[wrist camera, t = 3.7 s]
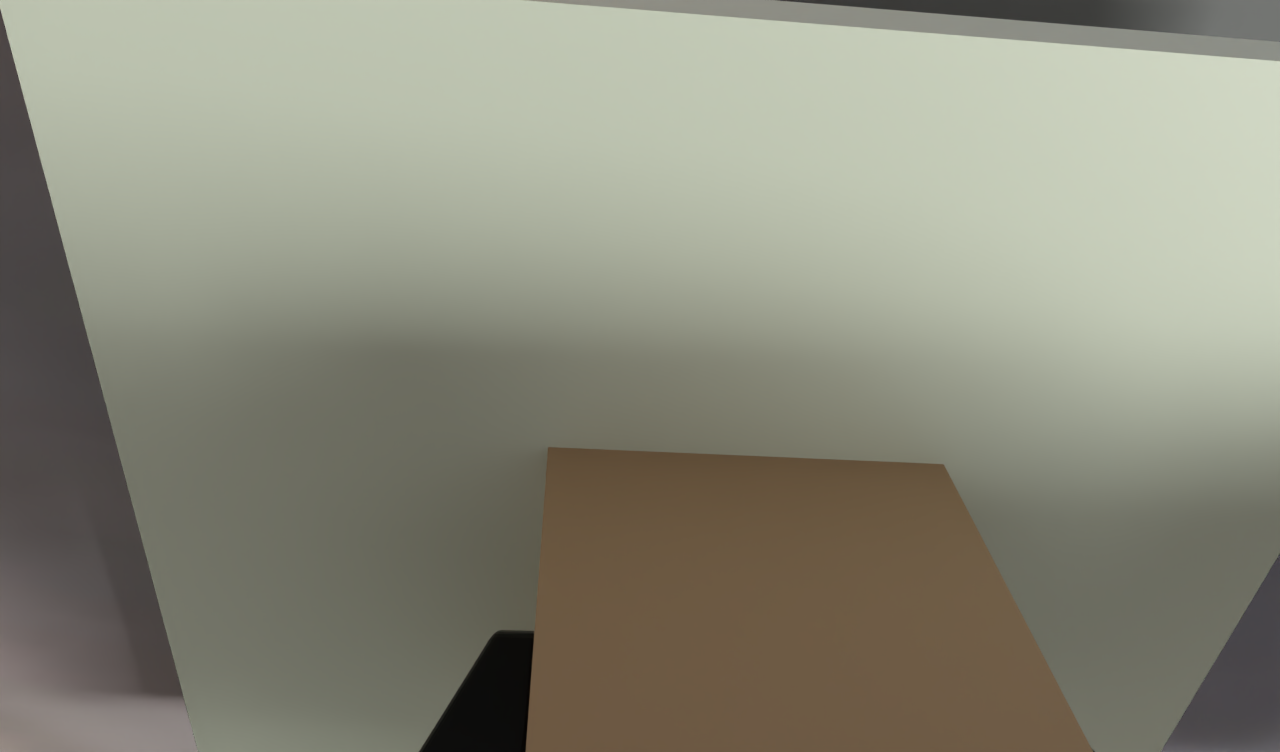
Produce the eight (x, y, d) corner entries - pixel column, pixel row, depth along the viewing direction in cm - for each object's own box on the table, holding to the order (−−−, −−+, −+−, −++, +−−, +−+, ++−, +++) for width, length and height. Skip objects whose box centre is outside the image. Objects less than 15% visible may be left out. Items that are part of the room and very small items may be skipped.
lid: (1473, 57, 7) (2520, 370, 3) (1045, 846, 13) (1244, 1310, 9) (49, -59, 7) (-825, 171, 3) (256, 838, 12) (90, 1345, 8)
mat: (1386, -41, 9) (1417, -35, 9) (1017, 744, 15) (1027, 766, 15) (100, -157, 8) (78, -156, 8) (273, 731, 14) (265, 753, 14)
